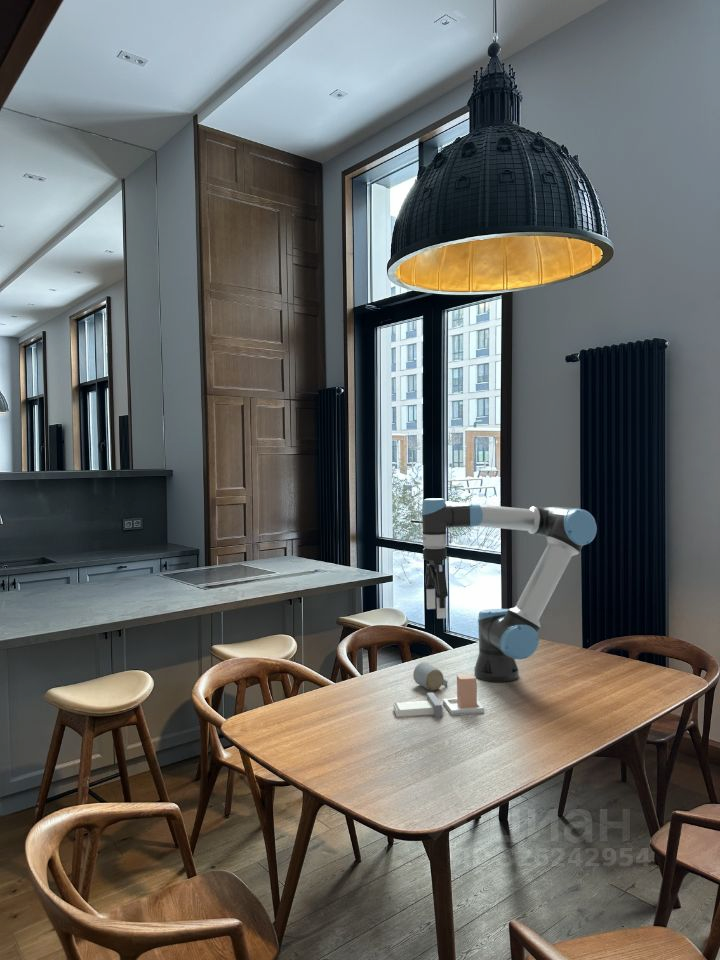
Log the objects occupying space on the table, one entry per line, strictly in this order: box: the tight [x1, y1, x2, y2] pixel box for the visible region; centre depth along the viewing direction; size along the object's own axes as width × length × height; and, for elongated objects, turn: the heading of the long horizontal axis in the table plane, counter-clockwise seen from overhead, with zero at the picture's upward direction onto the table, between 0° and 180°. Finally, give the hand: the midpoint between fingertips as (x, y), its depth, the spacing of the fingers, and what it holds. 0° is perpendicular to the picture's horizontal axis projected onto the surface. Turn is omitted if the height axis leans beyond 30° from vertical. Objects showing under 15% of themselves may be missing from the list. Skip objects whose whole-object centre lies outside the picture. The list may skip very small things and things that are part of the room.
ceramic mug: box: [412, 661, 449, 691], centre depth 228 cm, size 11×8×8 cm
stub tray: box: [442, 697, 485, 716], centre depth 208 cm, size 10×10×2 cm
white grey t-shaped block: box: [392, 692, 444, 718], centre depth 206 cm, size 14×11×4 cm
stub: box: [456, 673, 478, 708], centre depth 208 cm, size 5×4×9 cm
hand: (436, 613), depth 219 cm, fingers open, 13 cm apart
